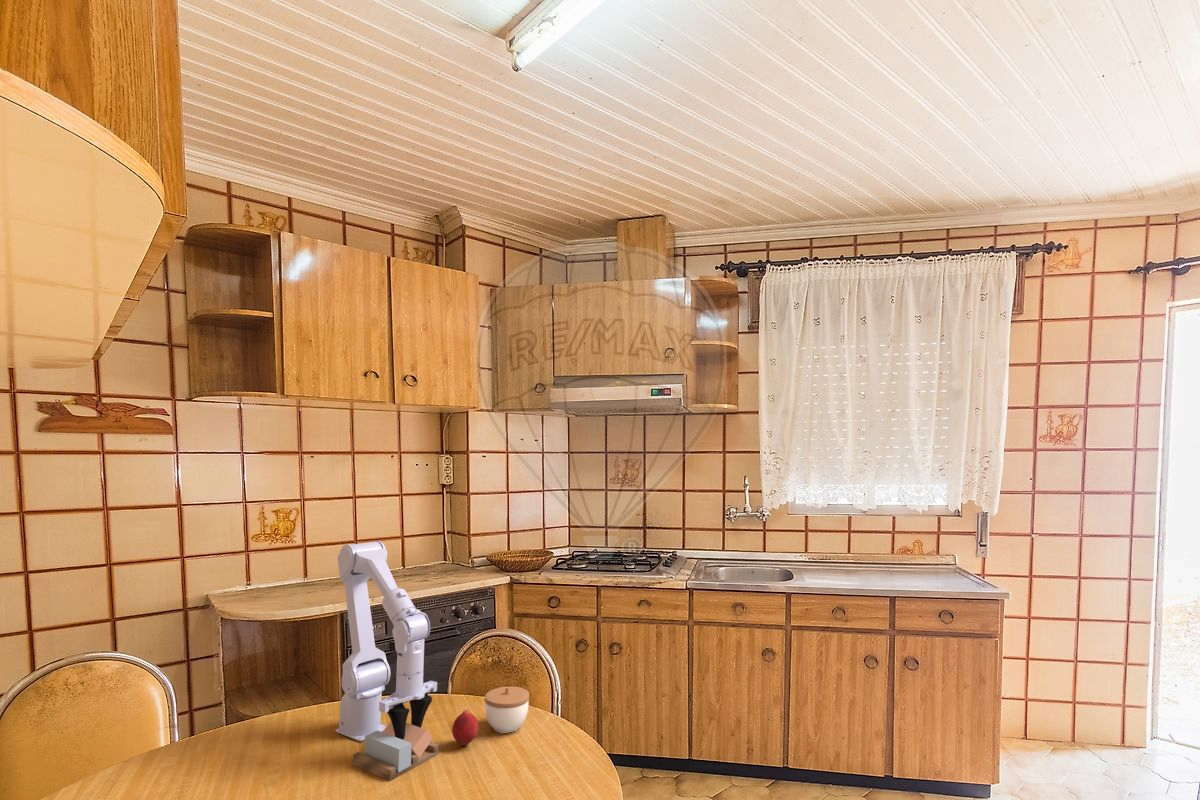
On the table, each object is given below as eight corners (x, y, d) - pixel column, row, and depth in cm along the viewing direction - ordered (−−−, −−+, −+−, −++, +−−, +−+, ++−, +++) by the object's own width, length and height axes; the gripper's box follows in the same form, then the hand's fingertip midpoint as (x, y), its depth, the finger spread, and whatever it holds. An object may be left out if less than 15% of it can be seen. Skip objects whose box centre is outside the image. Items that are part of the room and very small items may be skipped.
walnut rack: (352, 764, 127) (353, 754, 127) (402, 740, 138) (402, 731, 138) (389, 780, 121) (390, 770, 121) (438, 754, 132) (438, 744, 132)
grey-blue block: (363, 757, 128) (364, 735, 128) (376, 751, 131) (377, 730, 131) (398, 772, 122) (399, 749, 123) (410, 765, 125) (411, 743, 125)
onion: (471, 753, 132) (472, 715, 133) (447, 750, 133) (448, 712, 134) (481, 741, 138) (482, 704, 139) (458, 738, 139) (459, 702, 140)
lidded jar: (506, 714, 152) (506, 676, 153) (537, 725, 146) (538, 685, 147) (474, 730, 143) (475, 689, 144) (506, 742, 137) (507, 700, 138)
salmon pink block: (379, 736, 132) (393, 717, 136) (385, 745, 134) (399, 726, 137) (412, 749, 127) (426, 729, 130) (419, 758, 128) (432, 739, 131)
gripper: (395, 684, 125) (392, 753, 124) (447, 664, 137) (445, 726, 136) (373, 678, 129) (371, 744, 127) (425, 659, 141) (423, 719, 140)
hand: (407, 734), depth 132 cm, fingers closed on salmon pink block, 4 cm apart
